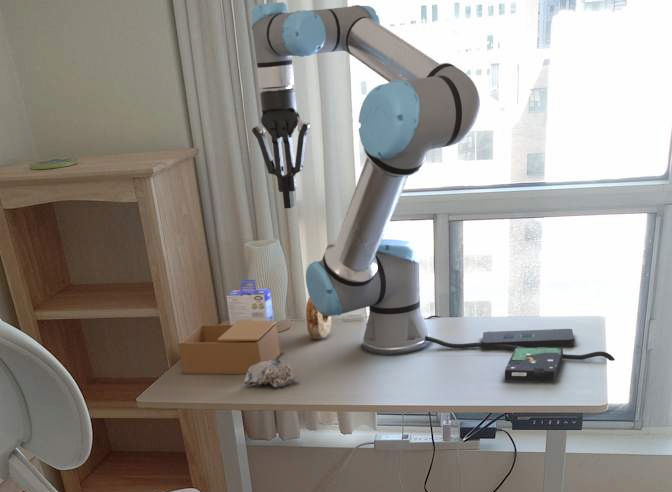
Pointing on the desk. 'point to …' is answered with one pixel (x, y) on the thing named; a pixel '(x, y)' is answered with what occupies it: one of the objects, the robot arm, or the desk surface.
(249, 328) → the flap
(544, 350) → the disk drive
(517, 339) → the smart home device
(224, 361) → the carton
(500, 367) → the desk surface
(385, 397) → the desk surface
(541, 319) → the desk surface
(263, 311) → the ink cartridge box
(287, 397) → the desk surface
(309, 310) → the stone disc
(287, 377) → the mineral specimen
